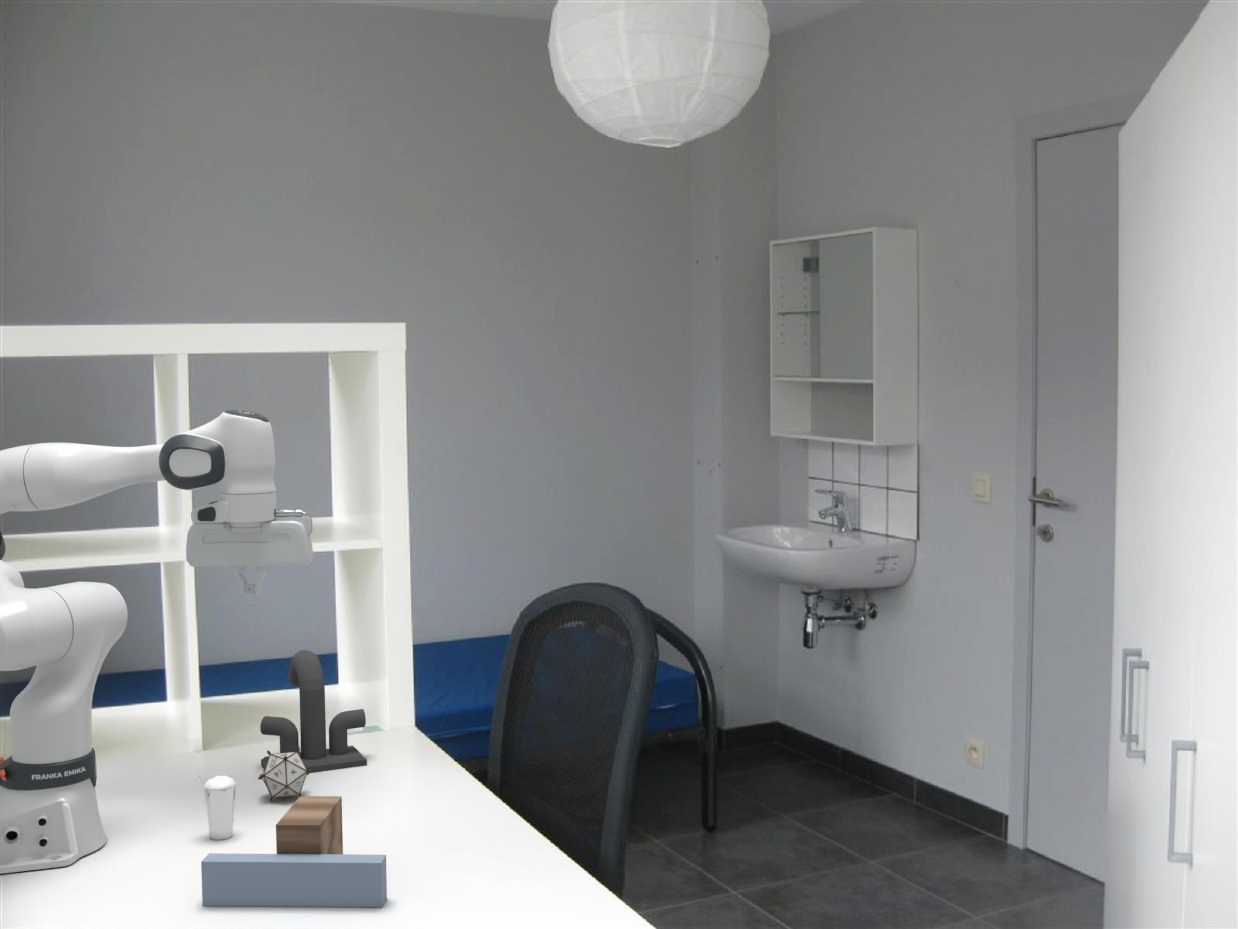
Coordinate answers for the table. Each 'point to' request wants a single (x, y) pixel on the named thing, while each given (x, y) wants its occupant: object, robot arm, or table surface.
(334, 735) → the faucet
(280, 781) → the game die
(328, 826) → the walnut block
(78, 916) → the table surface
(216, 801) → the milkshake
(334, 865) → the slate board
